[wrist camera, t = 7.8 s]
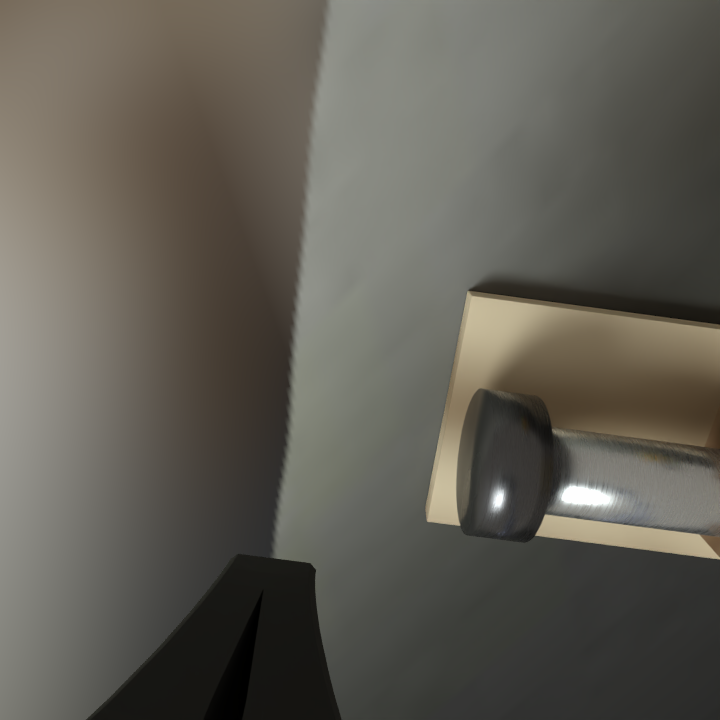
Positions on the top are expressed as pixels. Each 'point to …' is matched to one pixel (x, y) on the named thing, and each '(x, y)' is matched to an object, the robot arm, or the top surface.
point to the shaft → (574, 474)
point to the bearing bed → (586, 393)
